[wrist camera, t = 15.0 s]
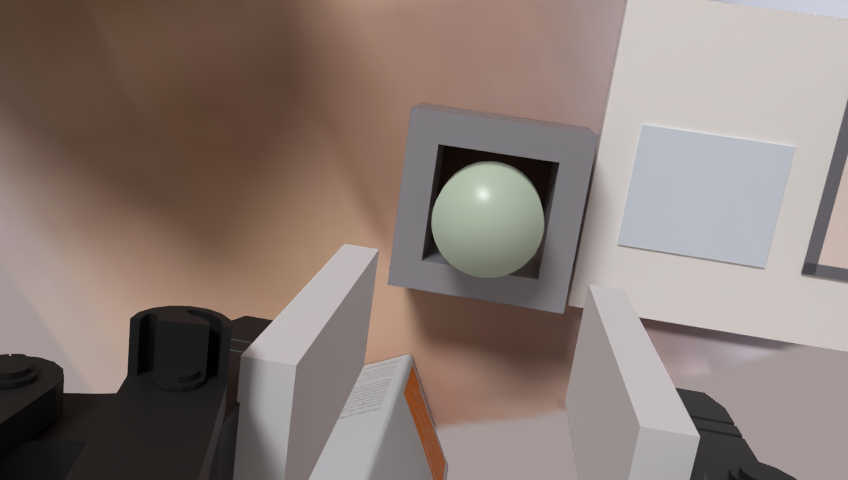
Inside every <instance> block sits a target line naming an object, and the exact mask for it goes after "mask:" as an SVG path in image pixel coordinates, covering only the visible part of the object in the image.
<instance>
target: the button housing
mask: <svg viewBox="0 0 848 480" xmlns="http://www.w3.org/2000/svg"><path fill="white" fill-rule="evenodd" d="M597 139H598V135H597V134H596V133H594V132H593V131H592V130H590V129H589V128H585V127H578V126H571V125H565V124H558V123H551V122H545V121H538V120H531V119H524V118H518V117H511V116H504V115H498V114H491V113H484V112H477V111H471V110H464V109H457V108H451V107H444V106H437V105H430V104H424V103H421V104H419V105H416V106H414V107H412V108H411V114H410V121H409V129H408V136H407V144H406V151H405V158H404V166H403V173H402V181H401V188H400V196H399V203H398V211H397V218H396V225H395V233H394V240H393V248H392V255H391V263H390V270H389V278H388V285H393V286H399V287H405V288H411V289H417V290H423V291H429V292H435V293H441V294H447V295H453V296H459V297H465V298H471V299H477V300H483V301H489V302H495V303H501V304H507V305H513V306H519V307H525V308H531V309H537V310H543V311H549V312H555V313H561V314H564V309H565V304H566V299H567V294H568V289H569V284H570V278H571V273H572V268H573V263H574V258H575V253H576V247H577V242H578V237H579V232H580V227H581V221H582V216H583V211H584V206H585V201H586V196H587V190H588V185H589V180H590V175H591V170H592V165H593V159H594V154H595V149H596V144H597ZM444 145H447V146H454V147H460V148H467V149H473V150H480V151H487V152H493V153H500V154H506V155H513V156H519V157H526V158H532V159H539V160H545V161H552V162H553V163H552V168H551V174H550V179H549V185H548V191H547V196H546V202H545V207H544V213H543V215H544V232H543V236H542V240H541V242H540V245H539V247H538V249H537V251H536V257H535V258H534V257H532V258H531V259H530V260H529V261H528V262H527V263H526V264H525V265H524V266H522V267H521V268H520V269H518V270H516V271H514V272H512V273H510V274H508V275H504V276H501V277H495V278H482V277H476V276H471V275H469V274H466V273H464V272H462V271H460V270H458V269H457V268H455V267H454V266H452V265H451V264H450V263H449V262H448V261H447V260H446V259H445V258H444V257H443V255H442V254H441V252H440V251H439V249H438V247H437V245H436V243H435V241H430V240H431V234H432V213H433V208H434V205H435V202H436V199H437V193H438V186H439V179H440V172H441V165H442V158H443V152H444Z"/></svg>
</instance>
